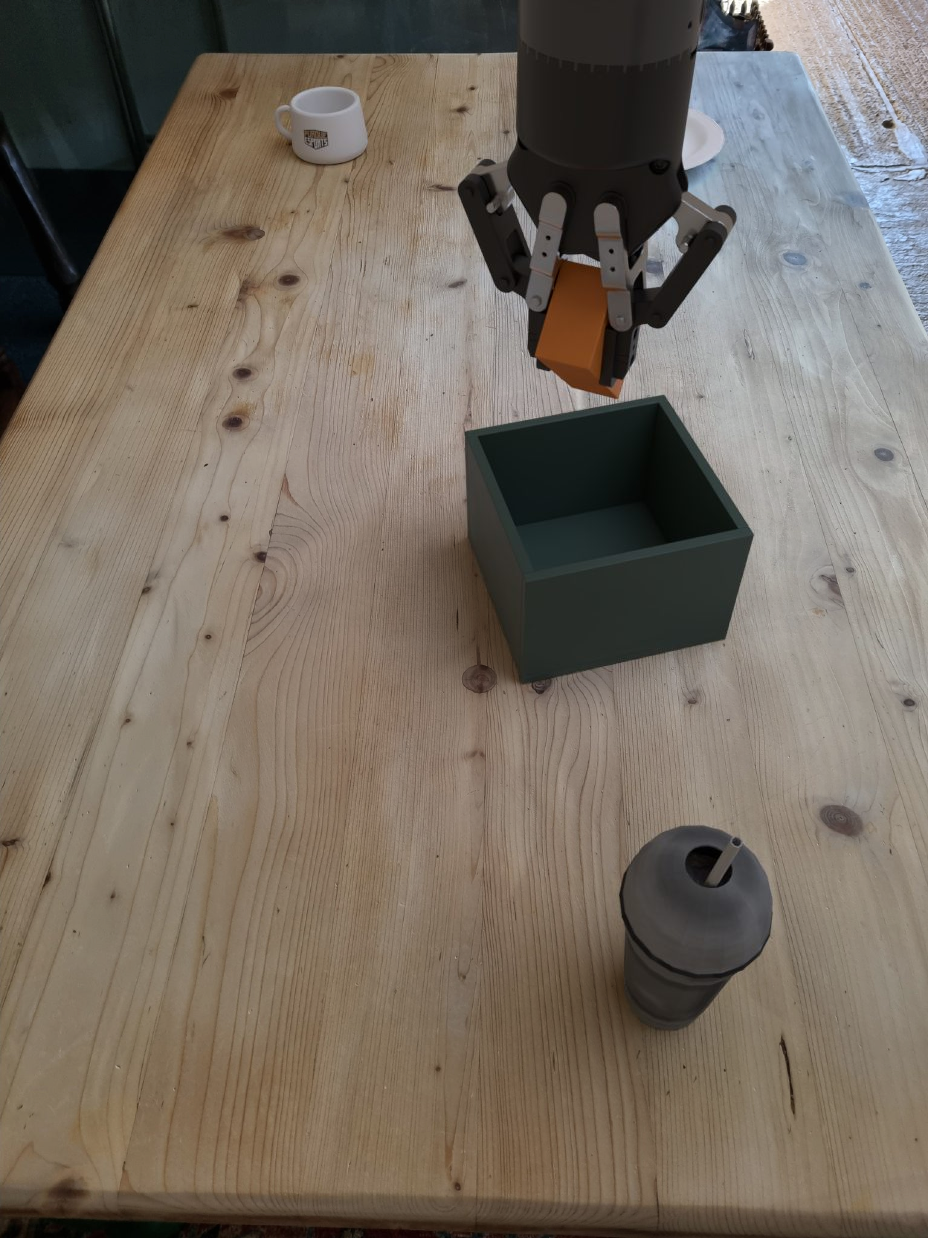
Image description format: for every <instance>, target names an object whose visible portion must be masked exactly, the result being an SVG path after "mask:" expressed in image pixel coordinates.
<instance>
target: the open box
mask: <svg viewBox="0 0 928 1238" xmlns="http://www.w3.org/2000/svg"><path fill="white" fill-rule="evenodd" d="M464 459H465V460H464V464H465V492H466V493H465V494H466V526H467V530H466V531H467V539H468V541H469V544H470V547H471V549H472V552H473V554H474V558H475V560H476V563H477V566H478V568H479V571H480V573H481V577H482V579H483V582H484V584H485V587H486V590H487V592H488V595H489V598H490V600H491V603H492V606H493V609H494V611H495V614H496V617H497V620H498V622H499V625H500V627H501V630H502V633H503V635H504V638H505V641H506V643H507V646H508V650H509V652H510V654H511V657H512V660H513V662H514V665H515V668H516V671H517V674H518V676H519V678H520V681H521V684H522V685H525V684H531V683H535V682H539V681H543V680H548V679H553V678H557V677H562V676H565V675H570V674H575V673H579V672H583V671H588V670H592V669H593V670H594V669H598V668H601V667H605V666H611V665H616V664H620V663H624V662H629V661H631V660H637V659H641V658H646V657H650V656H656V655H660V654H664V653H668V652H673V651H677V650H682V649H686V648H691V647H694V646H699V645H704V644H709V643H713V642H718V641H722V640H725V639H726V638H727V634H728V631H729V627H730V624H731V619H732V616H733V612H734V609H735V605H736V601H737V598H738V596H739V595H738V594H739V591H740V587H741V584H742V583H741V582H742V581H743V577H744V574H745V569H746V566H747V562H748V559H749V555H750V551H751V548H752V545H753V541H754V536H755V533H754V531H753V530H752V529H751V527H750V526H749V524H748V522H747V521H746V519H745V517H744V516H743V515H742V513H741V511H740V509H739V508H738V506H737V505H736V504H735V502H734V501H733V498H732V497H731V496H730V494H729V493H728V491H727V489H726V488H725V487H724V484H723V483H722V482H721V479H719V477H718V476H717V474H716V472H715V471H714V469H713V468H712V466H711V464H710V463H709V461H708V460H707V459H706V457H705V456H704V454H703V452H702V450H700V447H699V446H698V445H697V443H696V441H695V440H694V438H693V437H692V435H691V433H690V432H689V430H688V429H687V427H686V426H685V424H684V422H683V421H682V420H681V418H680V417H679V415H678V413H677V412H676V411H675V409H674V407H673V405H672V404H671V402H670V401H669V400H668V398H667V397H666V395H665V394H660V395H654V396H648V397H644V398H643V397H642V398H638V399H632V400H627V401H621V402H615V403H610V404H605V405H600V406H599V405H598V406H593V407H590V408H584V409H578V410H574V411H566V412H562V413H556V414H551V415H546V416H545V415H544V416H541V417H535V418H530V419H524V420H518V421H512V422H507V423H502V424H496V425H491V426H485V427H480V428H475V429H470V430H465V431H464Z"/></svg>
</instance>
